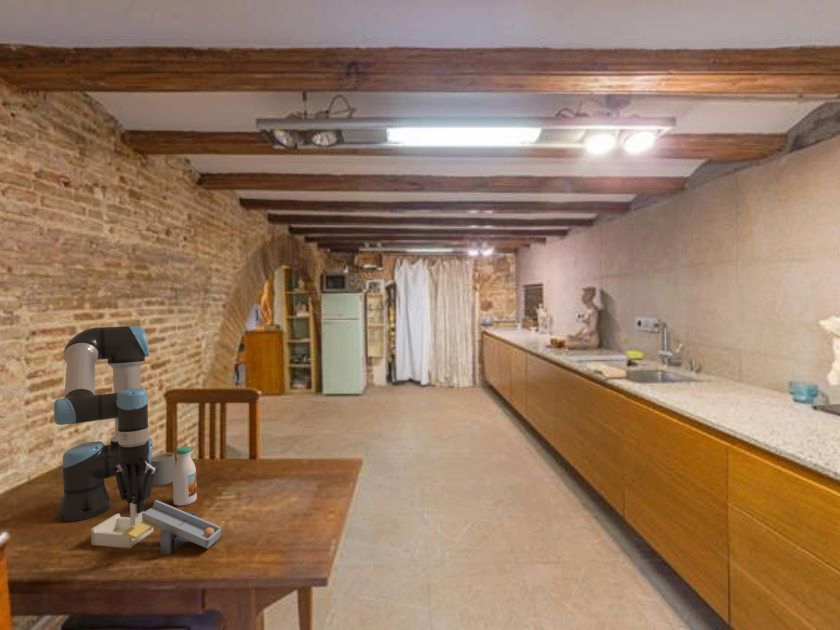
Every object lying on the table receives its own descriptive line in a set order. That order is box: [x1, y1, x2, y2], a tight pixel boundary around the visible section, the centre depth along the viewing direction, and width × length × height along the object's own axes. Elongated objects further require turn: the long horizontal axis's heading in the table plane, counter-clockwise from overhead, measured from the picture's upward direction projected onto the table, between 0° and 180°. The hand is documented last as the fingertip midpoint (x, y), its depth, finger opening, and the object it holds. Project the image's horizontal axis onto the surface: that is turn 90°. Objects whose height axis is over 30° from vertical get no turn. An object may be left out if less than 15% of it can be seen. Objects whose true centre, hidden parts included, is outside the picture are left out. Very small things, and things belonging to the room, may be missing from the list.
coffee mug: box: [145, 452, 176, 487], centre depth 188 cm, size 13×10×10 cm
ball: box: [204, 528, 214, 538], centre depth 139 cm, size 3×3×3 cm
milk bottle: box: [172, 446, 198, 507], centre depth 168 cm, size 8×8×20 cm
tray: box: [90, 513, 155, 549], centre depth 143 cm, size 13×10×5 cm
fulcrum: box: [159, 511, 198, 556], centre depth 140 cm, size 3×13×7 cm, turn 171°
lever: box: [123, 499, 224, 550], centre depth 137 cm, size 24×16×3 cm, turn 82°
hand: (136, 523), depth 133 cm, fingers closed
